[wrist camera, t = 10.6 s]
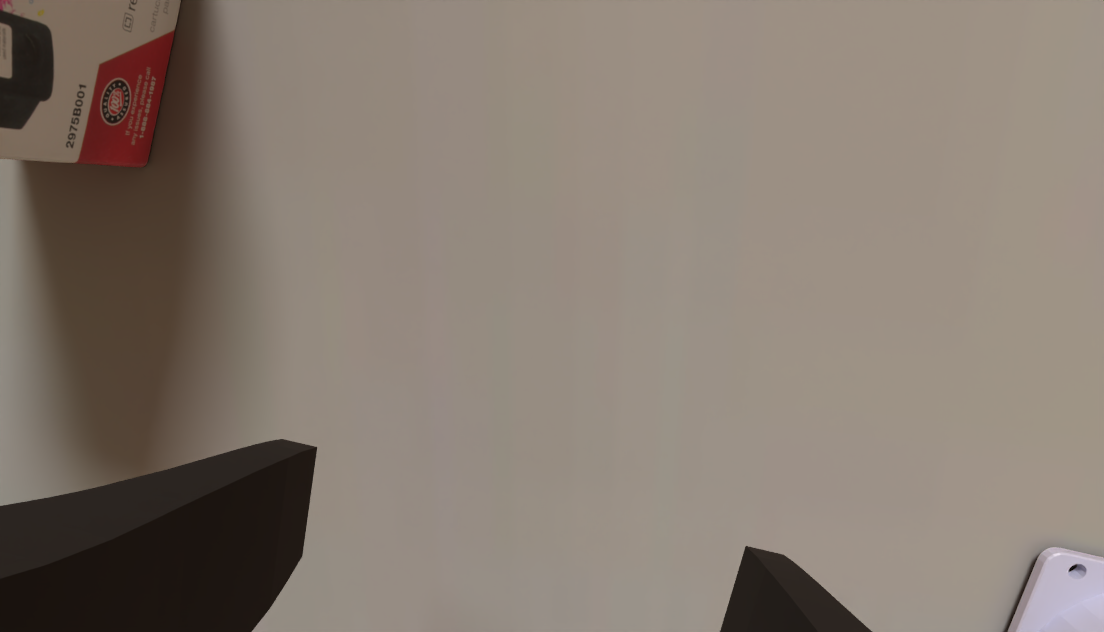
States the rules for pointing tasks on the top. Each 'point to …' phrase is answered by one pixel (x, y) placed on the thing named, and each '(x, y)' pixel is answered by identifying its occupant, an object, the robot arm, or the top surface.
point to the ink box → (83, 78)
